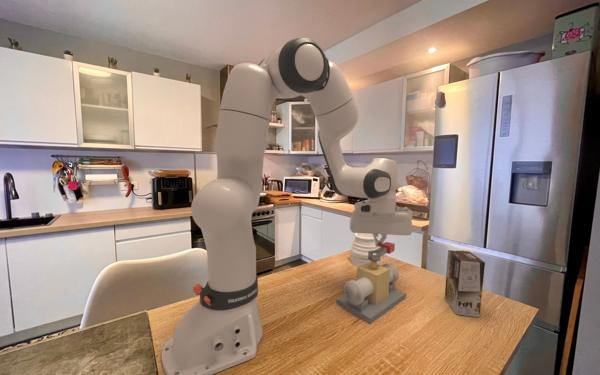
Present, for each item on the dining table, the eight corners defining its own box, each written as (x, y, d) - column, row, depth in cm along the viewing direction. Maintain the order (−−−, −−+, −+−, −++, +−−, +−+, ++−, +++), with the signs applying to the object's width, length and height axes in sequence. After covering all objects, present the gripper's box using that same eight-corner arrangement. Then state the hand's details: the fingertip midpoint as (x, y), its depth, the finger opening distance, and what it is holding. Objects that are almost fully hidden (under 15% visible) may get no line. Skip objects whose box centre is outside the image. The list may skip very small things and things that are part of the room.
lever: (376, 262, 72) (377, 255, 72) (365, 259, 74) (366, 251, 74) (395, 250, 82) (395, 244, 82) (384, 248, 84) (385, 241, 84)
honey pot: (353, 254, 114) (354, 216, 112) (382, 258, 109) (384, 219, 107) (347, 264, 102) (348, 222, 101) (379, 270, 97) (381, 226, 96)
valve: (370, 323, 65) (372, 276, 64) (336, 303, 74) (337, 261, 73) (406, 297, 78) (408, 257, 76) (373, 283, 87) (374, 247, 86)
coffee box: (480, 318, 68) (486, 262, 66) (455, 314, 69) (460, 260, 68) (465, 300, 77) (470, 250, 75) (443, 297, 78) (447, 249, 77)
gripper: (409, 206, 84) (406, 244, 86) (350, 203, 86) (348, 241, 87) (417, 209, 78) (413, 251, 79) (352, 206, 79) (350, 247, 81)
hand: (378, 246), depth 83 cm, fingers closed
